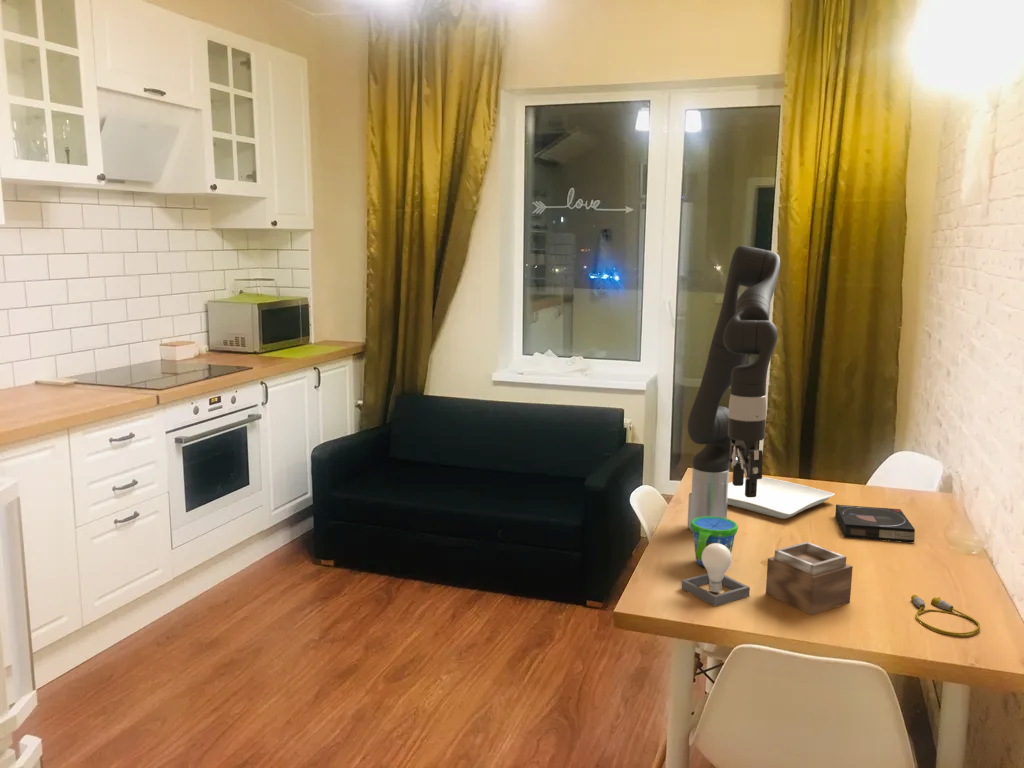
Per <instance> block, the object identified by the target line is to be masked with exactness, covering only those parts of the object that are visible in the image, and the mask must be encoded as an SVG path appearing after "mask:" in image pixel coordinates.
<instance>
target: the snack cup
mask: <svg viewBox="0 0 1024 768" xmlns="http://www.w3.org/2000/svg"><path fill="white" fill-rule="evenodd" d="M691 528H692V530H693V532H692V537H693V543H694V552H695V560H696V563H697V564H698V565H700V566H701V567H703V568H705V567H704V565H703V563H702V552H703V550H704V549H705V547H706V546H708V545H710V544H712V543H719V544H722V545H724V546H726V547H727V548H728V549H729V551H730V552H731V553H732V551H733V548H734V543H735V537H736V534H737V532H738V529H739V525H738V523H737V522H735V521H734V520H731V519H729V518H727V519H726V518H721V517H713V516H704V517H698V518H695V519H693V520H692V522H691Z"/></svg>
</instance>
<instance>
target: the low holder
mask: <svg viewBox="0 0 1024 768" xmlns="http://www.w3.org/2000/svg"><path fill="white" fill-rule="evenodd" d="M707 583H708V584H709V577H708V573H704V574H700V575H696V576H693V577H689V578H685V579H682V580H681V587H680V588H681V590H682V591H684V590H685V592H686V591H687V593H688V592H689V594H690V593H691V594H690V595H692V594H693V595H692V596H694V595H695V596H694V597H697V598H698V599H700V600H702V601H704V602H706V603H708V604H710V605H712V606H713V607H717V606H720V605H724V604H727V603H731V602H734V601H737V600H740V599H744V598H746V597H750V592H751V591H750V590H751V588H750V586H749V585H746V584H744V583H741V582H739V581H738V580H736V579H733V578H731V577H729V576H727V575H726V574H724V578H723V580H722V586H724V587H726V588H728V589H730V590H728V591H724V592H720V593H716V594H715V593H713V592H711V591H709V590H706V589H704V588H702V587H701V586H704V585H703V584H705V585H707ZM700 585H701V586H700Z"/></svg>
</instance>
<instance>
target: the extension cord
mask: <svg viewBox="0 0 1024 768" xmlns="http://www.w3.org/2000/svg"><path fill="white" fill-rule="evenodd" d="M910 599H911V600H910V601H911V602H912V603H913V605H914V606H916V607H917V608H918V610H917V611H916V613H917V614H916V613H915V619H916V618H917V620H918V621H919V623H920V622H921V623H922V624H923V625H922V624H921V623H920V624H921V625H922V626H924V625H925V626H926V627H925V626H924V627H925V628H927V627H928V628H930V629H929V630H930V631H933V630H934V631H933V632H936V633H939V632H940V634H944V635H947V636H953V637H961V638H964V637H971V636H974V635H976V634H977V633H978V632H979V631H980V628H981V625H980V623H979V621H977V620H976V619H974V618H973V617H972V616H969V615H967V614H965V613H963V612H961V611H959V610H958V609H955V608H954V605H953V604H950V602H947V601H946V600H944V599H941V597H940V596H939V597H937V596H936V597H933V598H932V599H931V601H930V604H931V605H932V604H933V606H934V605H935V606H934V607H937V608H939V607H940V609H931V608H930V609H925V608H926V602H924V601H925V600H923V599H922V598H921V597H920V596H919V595H917V594H913V595H911V597H910ZM941 609H943V610H941ZM944 610H945V611H944ZM935 611H938V612H937V613H943V612H944V614H949V615H954V616H958V615H959V616H958V617H961V616H962V617H961V618H964V617H965V618H964V619H967V618H968V619H967V620H969V619H970V620H969V621H971V620H972V621H971V622H973V621H974V622H973V623H974V624H976V625H977V627H976V629H974V630H972V631H967V632H954V631H953V632H952V631H947V630H943V629H940V628H938V627H934V626H932V625H930V624H928V623H926V622H924V621H923V620H921V619H920V617H919V616H918V617H917V615H921V614H923V613H925V612H935ZM953 611H954V612H953ZM917 620H916V621H917ZM918 621H917V622H918ZM928 628H927V629H928Z"/></svg>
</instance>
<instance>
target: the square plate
mask: <svg viewBox="0 0 1024 768" xmlns="http://www.w3.org/2000/svg"><path fill="white" fill-rule="evenodd" d="M745 479H746V478H745V477H744V482H743V485H742V486H734V485H733V483H732V481H731V482H728V502H727V506H731V505H732V506H733V507H735V508H739V509H742V508H743V509H742V510H746V509H747V511H750V510H751V512H754V511H755V512H754V513H758V512H759V514H761V513H762V514H761V515H765V514H766V516H770V517H773V516H774V518H778V519H783V520H785V519H789V518H791V517H794V516H795V515H797V514H799V513H801V512H803V511H805V510H807V509H810V508H812V507H815V506H817V505H820V504H822V503H824V502H826V501H828V500H829V499H831V497H833V496H835V493H834V492H830V491H827V490H823V489H819V488H817V487H816V488H815V487H812V486H807V485H803V484H799V483H795V482H791V481H787V480H781V479H776V478H771V477H766V476H762V479H758V480H757V493H756V497H746V496H745ZM732 506H731V507H732Z"/></svg>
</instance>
